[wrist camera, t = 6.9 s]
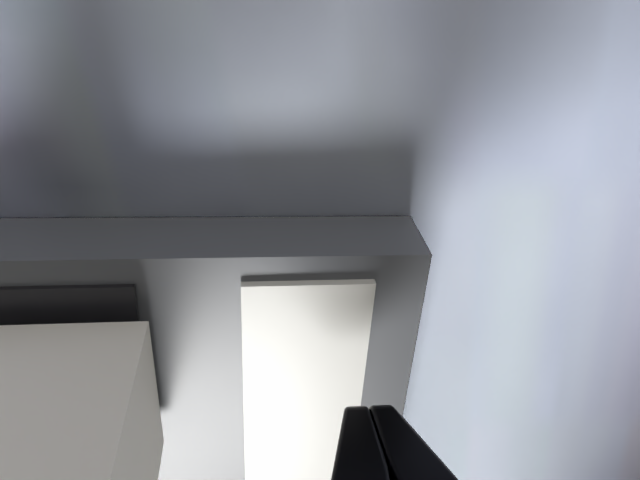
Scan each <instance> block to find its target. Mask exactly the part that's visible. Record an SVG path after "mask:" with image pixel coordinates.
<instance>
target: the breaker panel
mask: <svg viewBox="0 0 640 480" xmlns="http://www.w3.org/2000/svg"><path fill="white" fill-rule="evenodd" d="M431 257H432V254H431V252H430V250H429V248H428V247H427V245H426V243H425V241H424V239H423V238H422V236H421V234H420V232H419V230H418V229H417V227H416V225H415V223H414V221H413V220H412V218H411V216H308V217H123V218H0V325H30V324H65V323H100V322H135V321H149V328H150V336H151V344H152V351H153V359H154V367H155V375H156V383H157V390H158V398H159V406H160V414H161V422H162V430H163V437H164V444H163V451H162V457H161V463H160V470H159V476H158V480H331V477H332V471H333V466H334V461H335V455H336V450H337V445H338V440H339V434H340V429H341V424H342V418H343V413H344V409H345V408H346V407H348V406H366V407H368V408H369V407H370V406H372V405H392V406H393V407H394V408H395V409H396V410H397V411H398V412H399V413H400V414H401V415H402V416H403V410H404V405H405V399H406V394H407V388H408V383H409V377H410V372H411V367H412V361H413V356H414V350H415V345H416V339H417V334H418V328H419V323H420V317H421V312H422V306H423V301H424V296H425V290H426V285H427V279H428V274H429V268H430V263H431Z"/></svg>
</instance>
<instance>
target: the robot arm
mask: <svg viewBox="0 0 640 480" xmlns="http://www.w3.org/2000/svg"><path fill="white" fill-rule="evenodd" d="M331 480H458V479H457V478H456V477H455V475H454V474H453V473H452V472H451V471H450V470H449V469H448V468H447V466H446V465H445V464H444V463H443V462H442V461H441V460H440V458H439V457H438V456H437V455H436V454H435V453H434V452H433V451H432V449H431V448H430V447H429V446H428V445H427V444H426V443H425V441H424V440H423V439H422V438H421V437H420V436H419V435H418V434H417V432H416V431H415V430H414V429H413V428H412V427H411V426H410V424H409V423H408V422H407V421H406V420H405V419H404V418H403V417H402V415H401V414H400V413H399V412H398V411H397V410H396V409H395V408H394V407H393V406H392V405H372V406H370V407H369V408H368V407H366V406H348V407H346V408H345V409H344V413H343V418H342V424H341V429H340V434H339V440H338V445H337V450H336V455H335V461H334V466H333V471H332V477H331Z"/></svg>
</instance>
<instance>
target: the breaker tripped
mask: <svg viewBox="0 0 640 480" xmlns="http://www.w3.org/2000/svg"><path fill="white" fill-rule="evenodd" d="M163 444H164V437H163V430H162V422H161V414H160V406H159V398H158V390H157V383H156V375H155V367H154V359H153V351H152V344H151V336H150V328H149V321H135V322H100V323H65V324H30V325H0V480H158V476H159V470H160V463H161V457H162V451H163Z"/></svg>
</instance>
